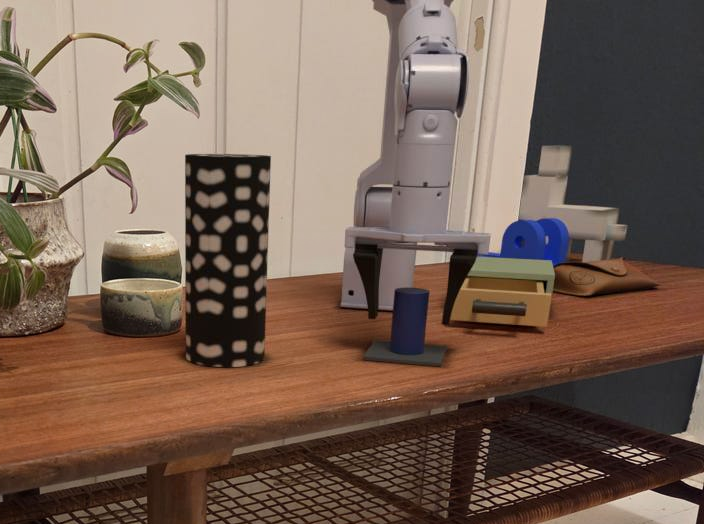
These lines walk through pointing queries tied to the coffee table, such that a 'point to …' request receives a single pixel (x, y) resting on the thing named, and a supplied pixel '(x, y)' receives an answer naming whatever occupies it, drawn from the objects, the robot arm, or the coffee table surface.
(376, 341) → the mat
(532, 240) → the bracket
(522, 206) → the toy llama
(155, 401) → the coffee table surface
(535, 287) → the drawer
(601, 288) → the sunglasses case
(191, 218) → the white-spotted black cylinder
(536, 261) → the cabinet
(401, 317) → the dark blue cylinder
